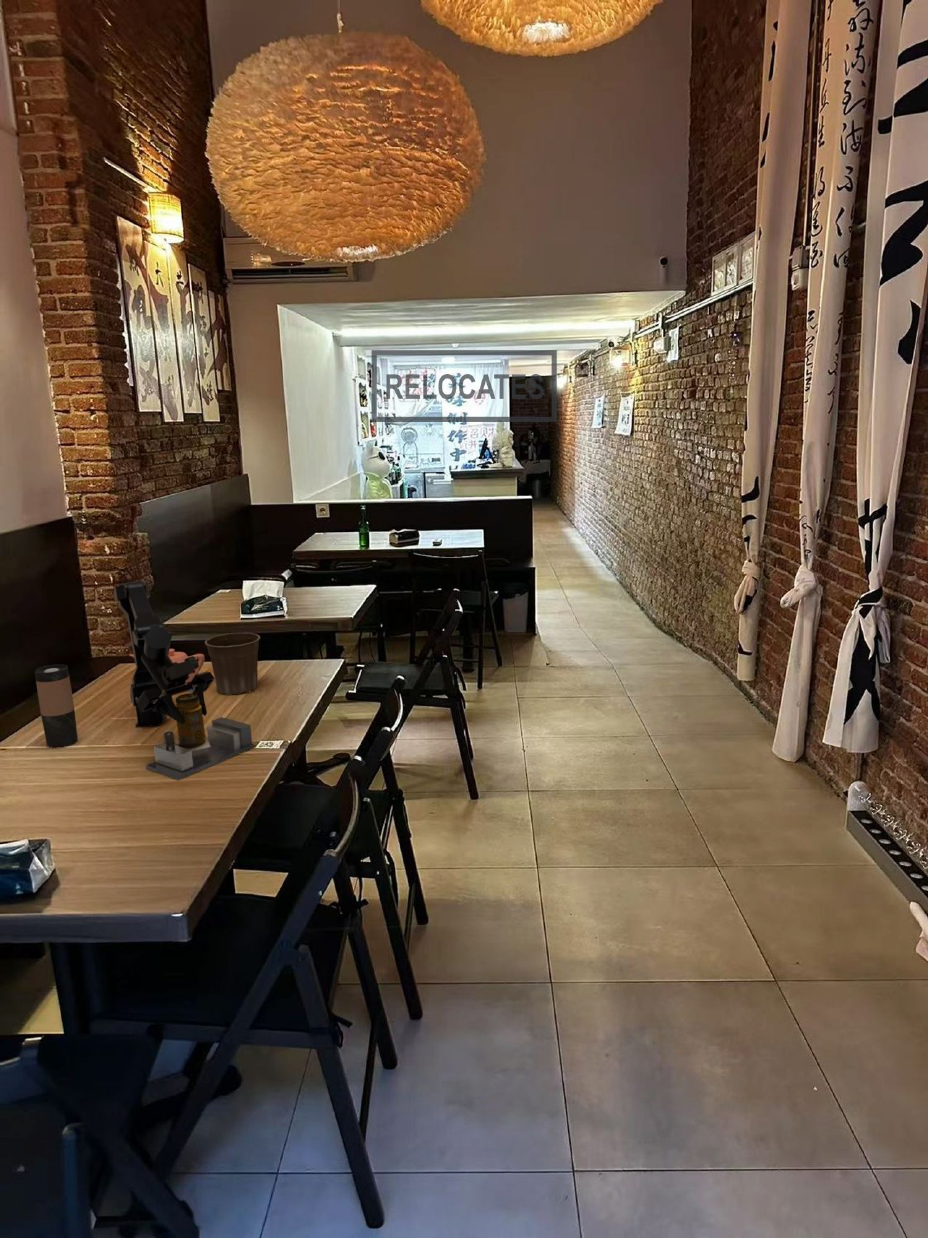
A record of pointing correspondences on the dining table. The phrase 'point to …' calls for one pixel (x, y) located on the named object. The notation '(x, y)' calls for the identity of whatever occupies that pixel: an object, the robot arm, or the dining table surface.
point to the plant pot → (234, 661)
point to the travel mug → (56, 705)
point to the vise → (213, 748)
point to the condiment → (191, 723)
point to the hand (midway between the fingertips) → (194, 718)
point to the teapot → (181, 657)
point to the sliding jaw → (173, 754)
